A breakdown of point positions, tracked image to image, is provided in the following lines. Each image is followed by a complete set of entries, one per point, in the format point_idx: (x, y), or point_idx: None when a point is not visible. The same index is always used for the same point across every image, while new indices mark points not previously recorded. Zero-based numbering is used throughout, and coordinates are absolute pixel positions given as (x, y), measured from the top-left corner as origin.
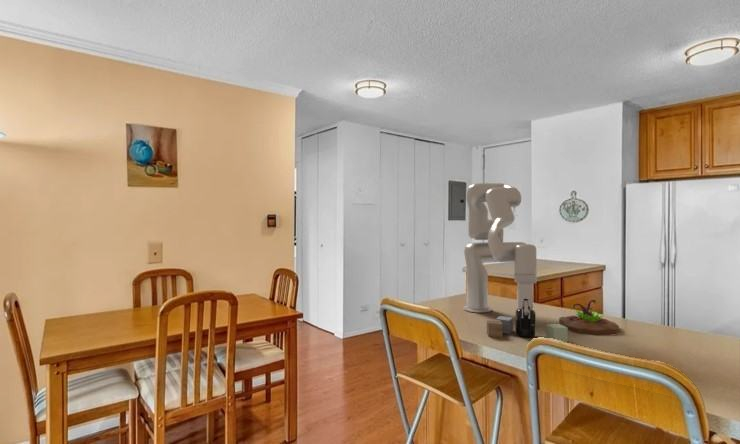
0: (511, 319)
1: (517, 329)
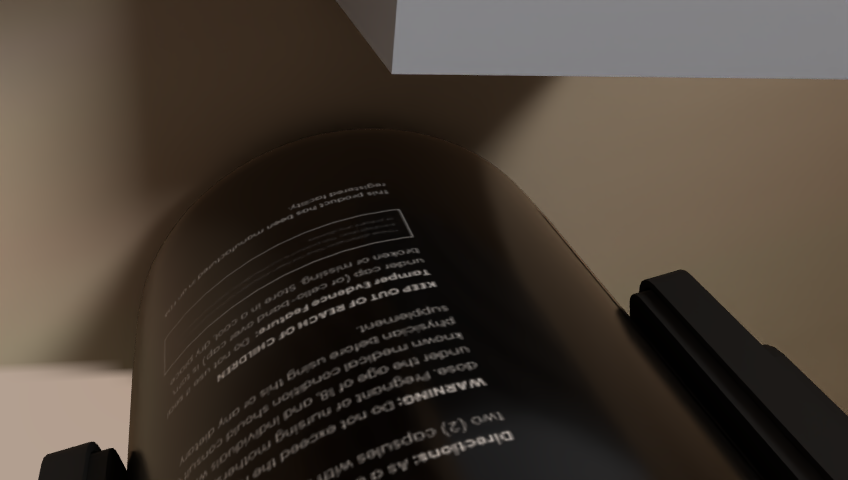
0: (666, 71)
1: (182, 276)
